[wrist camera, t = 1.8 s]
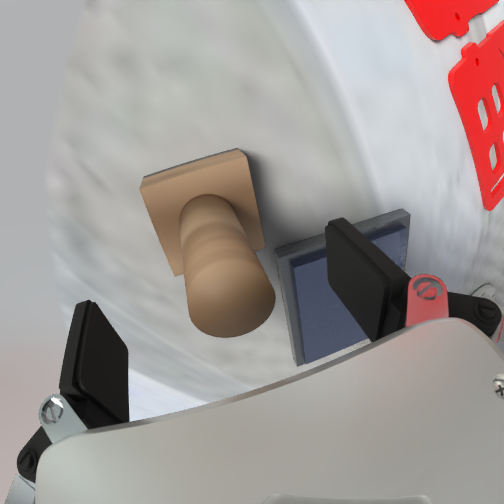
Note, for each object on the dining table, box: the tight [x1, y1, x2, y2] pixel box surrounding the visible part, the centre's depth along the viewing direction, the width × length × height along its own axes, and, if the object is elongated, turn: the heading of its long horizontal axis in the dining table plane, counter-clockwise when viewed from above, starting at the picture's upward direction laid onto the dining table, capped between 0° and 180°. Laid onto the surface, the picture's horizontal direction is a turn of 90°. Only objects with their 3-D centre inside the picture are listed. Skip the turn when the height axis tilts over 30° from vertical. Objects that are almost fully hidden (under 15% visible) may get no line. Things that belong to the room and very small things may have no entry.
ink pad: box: [274, 209, 410, 367], centre depth 26 cm, size 14×12×2 cm
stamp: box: [140, 148, 275, 338], centre depth 15 cm, size 6×6×10 cm
